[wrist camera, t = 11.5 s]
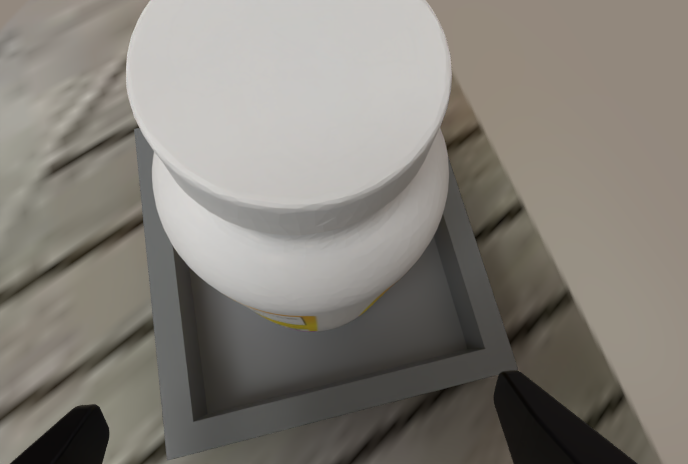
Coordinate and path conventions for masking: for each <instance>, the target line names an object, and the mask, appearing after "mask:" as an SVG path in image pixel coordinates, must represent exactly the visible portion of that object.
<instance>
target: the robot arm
mask: <svg viewBox="0 0 688 464" xmlns="http://www.w3.org/2000/svg"><path fill="white" fill-rule="evenodd" d="M494 404H495V408H496V411H497V414H498V417H499V420H500V423H501V426H502V429H503V432H504V435H505V438H506V441H507V444H508V447H509V450H510V453H511V457H512V460H513V463H514V464H637V463H636V462H635V461H634V460H632V459H631V458H630V457H628V456H627V455H626V454H625V453H623V452H622V451H621V450H620V449H618V448H617V447H616V446H614V445H613V444H612V443H611V442H609V441H608V440H607V439H605V438H604V437H603V436H602V435H600V434H599V433H598V432H597V431H595V430H594V429H593V428H591V427H590V426H589V425H588V424H586V423H585V422H584V421H582V420H581V419H580V418H579V417H577V416H576V415H575V414H574V413H572V412H571V411H570V410H568V409H567V408H566V407H565V406H563V405H562V404H561V403H559V402H558V401H557V400H556V399H554V398H553V397H552V396H551V395H549V394H548V393H547V392H545V391H544V390H543V389H542V388H540V387H539V386H538V385H536V384H535V383H534V382H533V381H531V380H530V379H529V378H528V377H526V376H525V375H524V374H522V373H521V372H519V371H517V370H512V371H502V372H501V373H500V374H499V376H498V380H497V384H496V388H495V392H494ZM108 440H109V427H108V425H107V423H106V420H105V418H104V416H103V414H102V411H101V409H100V407H99V406H97V405H95V404H92V405H80V406H77V407H75V408H73V409H72V410H71V411H70V412H68V413H67V414H66V415H65V416H64V417H63V418H62V419H60V420H59V421H58V422H57V423H56V424H55V425H54V426H52V427H51V428H50V429H49V430H48V431H47V432H46V433H44V434H43V435H42V436H41V437H40V438H39V439H38V440H36V441H35V442H34V443H33V444H32V445H31V446H30V447H28V448H27V449H26V450H25V451H24V452H23V453H22V454H20V455H19V456H18V457H17V458H16V459H15V460H14V461H12V462H11V463H10V464H102V462H103V458H104V455H105V451H106V447H107V444H108Z"/></svg>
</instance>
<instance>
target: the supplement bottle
mask: <svg viewBox="0 0 688 464" xmlns="http://www.w3.org/2000/svg"><path fill="white" fill-rule="evenodd" d="M451 83H452V69H451V56H450V51H449V47H448V43H447V39H446V37H445V34H444V31H443V28H442V27H441V25H440V23H439V21H438V19H437V17H436V15H435V13H434V11H433V10H432V8H431V7H430V6H429V4H428V3H427V2H426V0H150V1H149V3H148V4H147V6H146V7H145V9H144V10H143V12H142V14H141V16H140V18H139V20H138V22H137V24H136V26H135V29H134V31H133V34H132V36H131V40H130V44H129V48H128V52H127V64H126V86H127V92H128V97H129V101H130V104H131V108H132V111H133V114H134V117H135V119H136V121H137V123H138V125H139V127H140V130H141V132H142V134H143V136H144V137H145V139H146V140H147V142H148V143H149V145H150V146H151V148H152V149H153V151H154V155H153V164H152V184H153V192H154V197H155V203H156V208H157V211H158V214H159V217H160V220H161V223H162V225H163V228H164V230H165V232H166V234H167V236H168V238H169V240H170V242H171V244H172V245H173V247H174V248H175V250H176V251H177V253H178V254H179V255H180V257H181V258H182V259H183V260H184V261H185V263H186V264H187V265H188V266H189V267H190V268H191V269H192V270H193V271H194V272H195V273H196V274H197V275H198V276H199V277H200V278H202V279H203V280H204V281H205V282H207V283H208V284H209V285H211V286H212V287H213V288H215V289H216V290H218V291H219V292H221V293H222V294H224V295H225V296H227V297H229V298H231V299H233V300H234V301H236V302H238V303H240V304H242V305H244V306H246V307H247V308H249V309H251V310H252V311H254V312H256V313H257V314H259V315H261V316H262V317H264V318H266V319H268V320H269V321H271V322H273V323H275V324H277V325H280V326H282V327H285V328H288V329H292V330H297V331H304V332H319V331H326V330H331V329H335V328H338V327H340V326H343V325H345V324H347V323H349V322H351V321H353V320H354V319H356V318H357V317H359V316H360V315H362V314H363V313H364V312H365V311H366V310H367V309H369V308H370V307H371V306H372V305H373V304H374V303H375V302H376V301H377V300H378V299H379V298H380V297H381V296H382V295H383V294H384V293H385V292H386V291H387V290H388V289H389V288H390V287H392V286H393V285H394V284H395V283H396V282H397V281H398V280H400V279H401V278H402V277H403V276H404V275H405V274H406V273H407V272H408V271H409V269H410V268H411V267H412V266H413V265H414V264H415V263H416V262H417V260H418V259H419V258H420V257H421V255H422V254H423V252H424V251H425V249H426V248H427V246H428V245H429V243H430V242H431V240H432V238H433V236H434V234H435V232H436V230H437V228H438V225H439V223H440V220H441V218H442V215H443V211H444V208H445V203H446V199H447V193H448V183H449V166H448V154H447V148H446V144H445V140H444V137H443V134H442V131H441V129H440V126H441V124H442V121H443V118H444V116H445V113H446V110H447V107H448V102H449V98H450V93H451Z"/></svg>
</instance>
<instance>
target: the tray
mask: <svg viewBox="0 0 688 464" xmlns="http://www.w3.org/2000/svg"><path fill="white" fill-rule="evenodd" d="M134 131H135V141H136V151H137V161H138V171H139V181H140V191H141V201H142V212H143V222H144V232H145V242H146V252H147V262H148V272H149V282H150V292H151V303H152V313H153V323H154V333H155V343H156V353H157V363H158V373H159V384H160V394H161V404H162V414H163V424H164V434H165V444H166V454H167V460H171V459H175V458H179V457H183V456H186V455H190V454H194V453H198V452H202V451H206V450H210V449H213V448H217V447H221V446H225V445H229V444H233V443H237V442H240V441H244V440H248V439H252V438H256V437H260V436H264V435H267V434H271V433H275V432H279V431H283V430H287V429H291V428H294V427H298V426H302V425H306V424H310V423H314V422H318V421H321V420H325V419H329V418H333V417H337V416H341V415H345V414H348V413H352V412H356V411H360V410H364V409H368V408H372V407H375V406H379V405H383V404H387V403H391V402H395V401H399V400H402V399H406V398H410V397H414V396H418V395H422V394H426V393H429V392H433V391H437V390H441V389H445V388H449V387H453V386H456V385H460V384H464V383H468V382H472V381H476V380H480V379H483V378H487V377H491V376H495V375H499V374H500V373H501V372H502V371H512V370H518V368H517V365H516V361H515V358H514V355H513V352H512V349H511V346H510V343H509V340H508V337H507V334H506V331H505V328H504V325H503V322H502V319H501V316H500V313H499V310H498V307H497V304H496V301H495V298H494V295H493V292H492V288H491V285H490V282H489V279H488V276H487V273H486V270H485V267H484V264H483V261H482V258H481V255H480V252H479V249H478V246H477V243H476V240H475V237H474V234H473V231H472V228H471V225H470V222H469V218H468V215H467V212H466V209H465V206H464V203H463V200H462V197H461V194H460V191H459V188H458V185H457V182H456V179H455V176H454V173H453V170H452V167H451V164H450V161H449V158H448V166H449V183H448V193H447V199H446V203H445V208H444V211H443V215H442V218H441V220H440V223H439V225H438V228H437V230H436V232H435V234H434V236H433V238H432V240H431V242H430V243H429V245H428V246H427V248H426V249H425V251H424V252H423V254H422V255H421V257H420V258H419V259H418V260H417V262H416V263H415V264H414V265H413V266H412V267H411V268H410V269H409V271H408V272H407V273H406V274H405V275H404V276H403V277H402V278H401V279H400V280H398V281H397V282H396V283H395V284H394V285H393V286H392V287H390V288H389V289H388V290H387V291H386V292H385V293H384V294H383V295H382V296H381V297H380V298H379V299H378V300H377V301H376V302H375V303H374V304H373V305H372V306H371V307H370V308H369V309H367V310H366V311H365V312H364V313H363V314H362V315H360V316H359V317H357V318H356V319H354V320H353V321H351V322H349V323H347V324H345V325H343V326H340V327H338V328H335V329H331V330H326V331H319V332H304V331H297V330H292V329H288V328H285V327H282V326H280V325H277V324H275V323H273V322H271V321H269V320H268V319H266V318H264V317H262V316H261V315H259V314H257V313H256V312H254V311H252V310H251V309H249V308H247V307H246V306H244V305H242V304H240V303H238V302H236V301H234V300H233V299H231V298H229V297H227V296H225V295H224V294H222V293H221V292H219V291H218V290H216V289H215V288H213V287H212V286H211V285H209V284H208V283H207V282H205V281H204V280H203V279H202V278H200V277H199V276H198V275H197V274H196V273H195V272H194V271H193V270H192V269H191V268H190V267H189V266H188V265H187V264H186V263H185V261H184V260H183V259H182V258H181V257H180V255H179V254H178V253H177V251H176V250H175V248H174V247H173V245H172V244H171V242H170V240H169V238H168V236H167V234H166V232H165V230H164V228H163V225H162V223H161V220H160V217H159V214H158V211H157V208H156V203H155V197H154V192H153V184H152V164H153V155H154V151H153V149H152V148H151V146H150V145H149V143H148V142H147V140H146V139H145V137H144V136H143V134H142V132H141V130H140V128H138V129H134Z"/></svg>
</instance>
